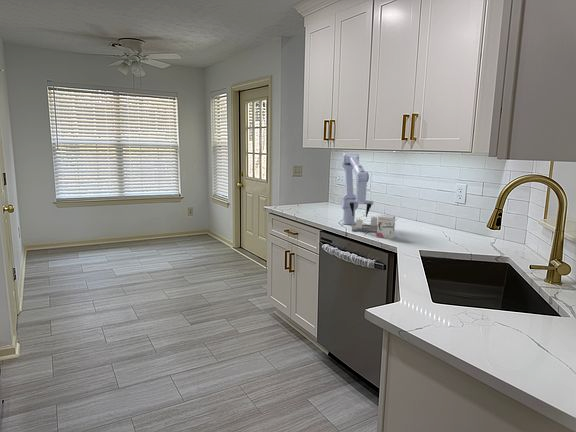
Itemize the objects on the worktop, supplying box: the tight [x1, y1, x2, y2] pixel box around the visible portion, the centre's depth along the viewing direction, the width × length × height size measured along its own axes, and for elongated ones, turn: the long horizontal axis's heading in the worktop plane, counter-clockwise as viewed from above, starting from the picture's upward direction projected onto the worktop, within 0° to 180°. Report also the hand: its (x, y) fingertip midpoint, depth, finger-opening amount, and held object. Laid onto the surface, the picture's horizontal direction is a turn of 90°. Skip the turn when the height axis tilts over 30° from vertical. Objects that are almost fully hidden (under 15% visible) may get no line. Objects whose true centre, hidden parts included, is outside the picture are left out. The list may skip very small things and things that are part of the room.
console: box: [351, 223, 377, 234], centre depth 241 cm, size 17×19×1 cm
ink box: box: [376, 214, 396, 240], centre depth 221 cm, size 9×5×12 cm, turn 62°
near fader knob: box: [355, 217, 363, 229], centre depth 237 cm, size 5×4×5 cm
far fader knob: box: [369, 216, 378, 227], centre depth 245 cm, size 5×4×5 cm
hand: (359, 216), depth 236 cm, fingers open, 7 cm apart
